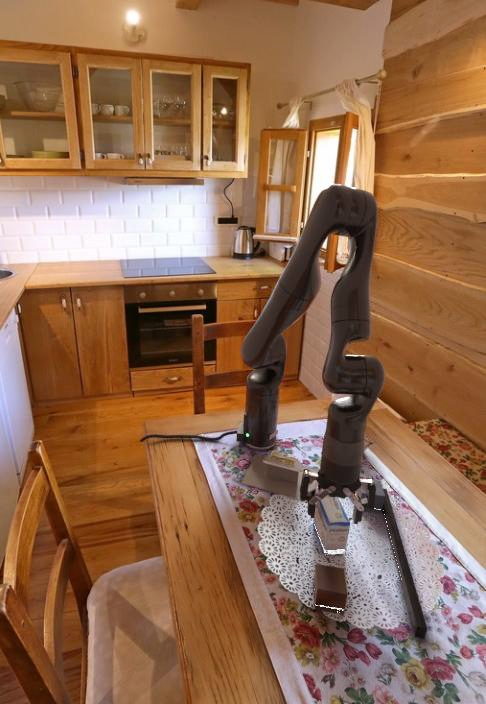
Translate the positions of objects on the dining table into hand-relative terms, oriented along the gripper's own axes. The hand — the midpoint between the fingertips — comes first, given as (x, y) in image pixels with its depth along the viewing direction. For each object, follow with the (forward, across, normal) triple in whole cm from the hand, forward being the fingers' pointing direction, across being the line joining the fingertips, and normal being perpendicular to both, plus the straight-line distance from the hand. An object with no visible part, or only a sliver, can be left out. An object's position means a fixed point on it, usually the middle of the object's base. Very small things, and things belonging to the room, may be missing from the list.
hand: (333, 518), depth 83 cm
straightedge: (+6, -13, +1) cm, 14 cm away
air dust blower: (+6, -8, -49) cm, 50 cm away
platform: (+6, +10, -17) cm, 21 cm away
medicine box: (+6, 0, 0) cm, 6 cm away
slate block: (+6, -10, -12) cm, 17 cm away
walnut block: (+6, +2, +13) cm, 14 cm away
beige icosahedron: (+6, -9, -31) cm, 33 cm away
